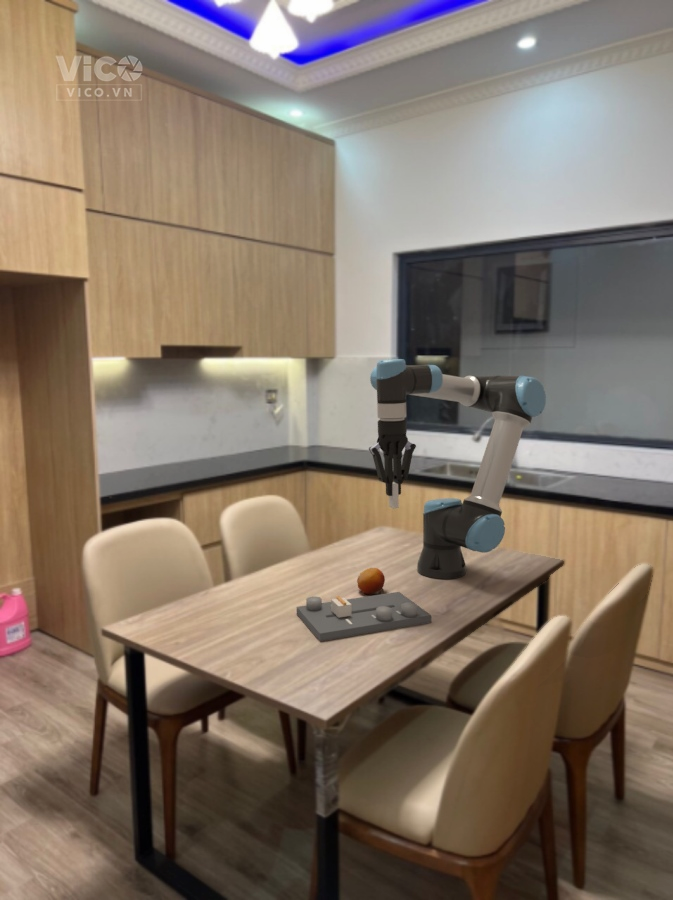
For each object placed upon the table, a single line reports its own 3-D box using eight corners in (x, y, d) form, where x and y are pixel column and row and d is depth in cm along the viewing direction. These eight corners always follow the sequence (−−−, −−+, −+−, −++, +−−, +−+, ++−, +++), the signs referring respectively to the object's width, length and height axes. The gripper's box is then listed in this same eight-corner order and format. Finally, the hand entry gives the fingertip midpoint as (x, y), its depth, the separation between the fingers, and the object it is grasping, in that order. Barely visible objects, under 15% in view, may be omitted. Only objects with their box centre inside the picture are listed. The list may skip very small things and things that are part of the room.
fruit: (389, 593, 181) (374, 568, 181) (365, 605, 183) (351, 581, 183) (392, 583, 189) (378, 559, 189) (369, 595, 191) (356, 572, 191)
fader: (343, 608, 167) (343, 595, 167) (351, 615, 163) (351, 602, 162) (331, 610, 166) (331, 597, 166) (338, 617, 161) (338, 604, 161)
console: (398, 598, 181) (399, 583, 180) (431, 622, 164) (431, 606, 163) (296, 614, 170) (296, 598, 169) (319, 641, 153) (319, 623, 153)
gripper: (407, 416, 174) (408, 501, 178) (363, 419, 169) (365, 507, 173) (421, 418, 167) (422, 507, 171) (375, 422, 162) (377, 513, 166)
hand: (393, 507), depth 172 cm, fingers closed
